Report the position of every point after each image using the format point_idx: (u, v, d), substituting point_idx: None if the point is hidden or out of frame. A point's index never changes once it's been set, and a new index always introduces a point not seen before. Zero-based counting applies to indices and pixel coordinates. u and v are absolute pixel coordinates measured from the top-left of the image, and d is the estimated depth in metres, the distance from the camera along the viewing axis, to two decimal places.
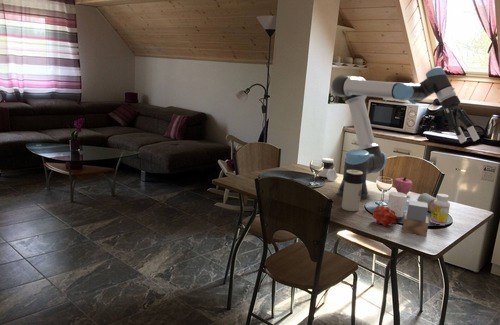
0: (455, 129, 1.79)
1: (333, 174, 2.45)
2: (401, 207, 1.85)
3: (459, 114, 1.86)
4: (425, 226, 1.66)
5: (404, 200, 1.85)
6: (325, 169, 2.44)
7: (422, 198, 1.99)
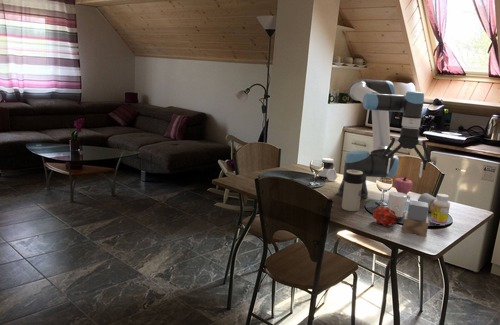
0: (385, 159, 1.87)
1: (333, 174, 2.45)
2: (401, 207, 1.85)
3: (408, 147, 1.82)
4: (425, 226, 1.66)
5: (404, 200, 1.85)
6: (325, 169, 2.44)
7: (423, 198, 1.99)
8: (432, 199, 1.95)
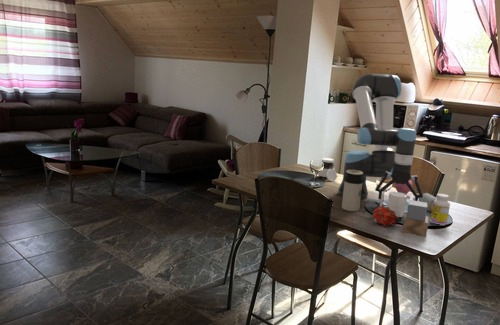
0: None
1: (333, 174, 2.45)
2: (401, 207, 1.85)
3: (400, 182, 1.86)
4: (425, 226, 1.66)
5: (404, 200, 1.85)
6: (325, 169, 2.44)
7: (423, 198, 1.99)
8: (433, 199, 1.95)
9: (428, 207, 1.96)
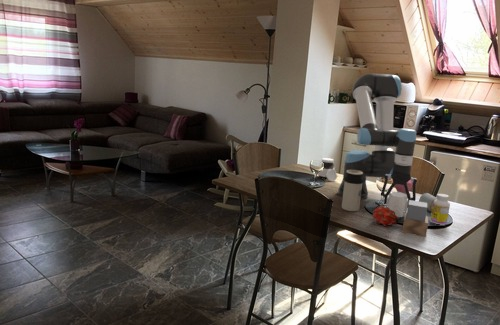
0: (384, 197, 1.90)
1: (333, 174, 2.45)
2: (401, 207, 1.85)
3: (400, 183, 1.86)
4: (425, 226, 1.65)
5: (404, 200, 1.85)
6: (325, 169, 2.44)
7: (424, 198, 1.99)
8: (433, 199, 1.95)
9: (428, 207, 1.96)
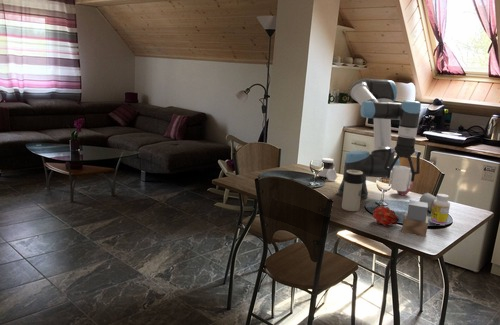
0: (387, 171, 1.88)
1: (333, 174, 2.45)
2: (405, 180, 1.83)
3: (404, 156, 1.83)
4: (425, 226, 1.66)
5: (408, 173, 1.83)
6: (325, 169, 2.44)
7: (424, 198, 1.99)
8: (434, 199, 1.96)
9: (429, 207, 1.96)
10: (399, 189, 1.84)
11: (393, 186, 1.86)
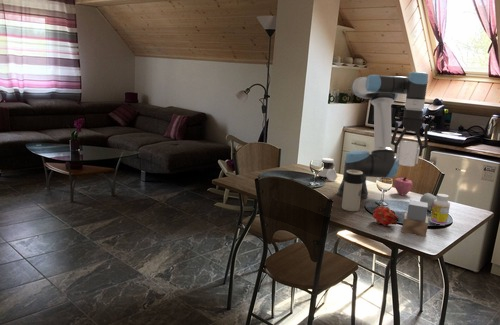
0: None
1: (333, 174, 2.45)
2: (412, 155, 1.77)
3: (411, 129, 1.77)
4: (425, 226, 1.65)
5: (416, 147, 1.76)
6: (325, 169, 2.44)
7: (425, 198, 1.99)
8: (434, 199, 1.96)
9: (430, 207, 1.96)
10: (407, 164, 1.78)
11: (400, 161, 1.80)
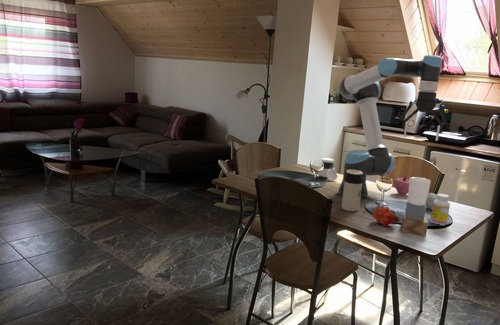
0: None
1: (333, 174, 2.45)
2: (424, 194, 1.65)
3: (425, 110, 1.86)
4: (425, 226, 1.66)
5: (427, 186, 1.65)
6: (325, 169, 2.44)
7: (428, 198, 2.00)
8: None
9: None
10: (418, 203, 1.66)
11: (411, 200, 1.68)
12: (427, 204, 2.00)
